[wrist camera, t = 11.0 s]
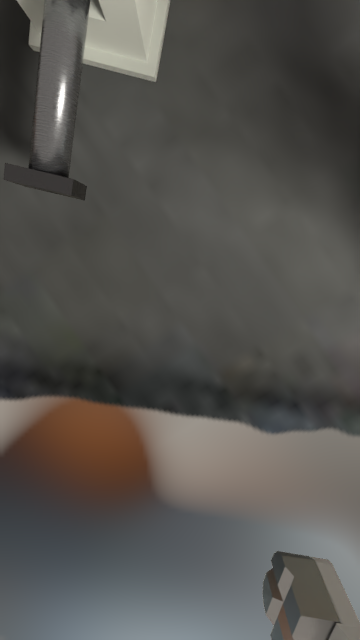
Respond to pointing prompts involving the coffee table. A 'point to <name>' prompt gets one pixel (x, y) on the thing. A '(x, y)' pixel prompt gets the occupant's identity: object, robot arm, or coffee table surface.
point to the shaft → (56, 100)
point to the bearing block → (115, 34)
